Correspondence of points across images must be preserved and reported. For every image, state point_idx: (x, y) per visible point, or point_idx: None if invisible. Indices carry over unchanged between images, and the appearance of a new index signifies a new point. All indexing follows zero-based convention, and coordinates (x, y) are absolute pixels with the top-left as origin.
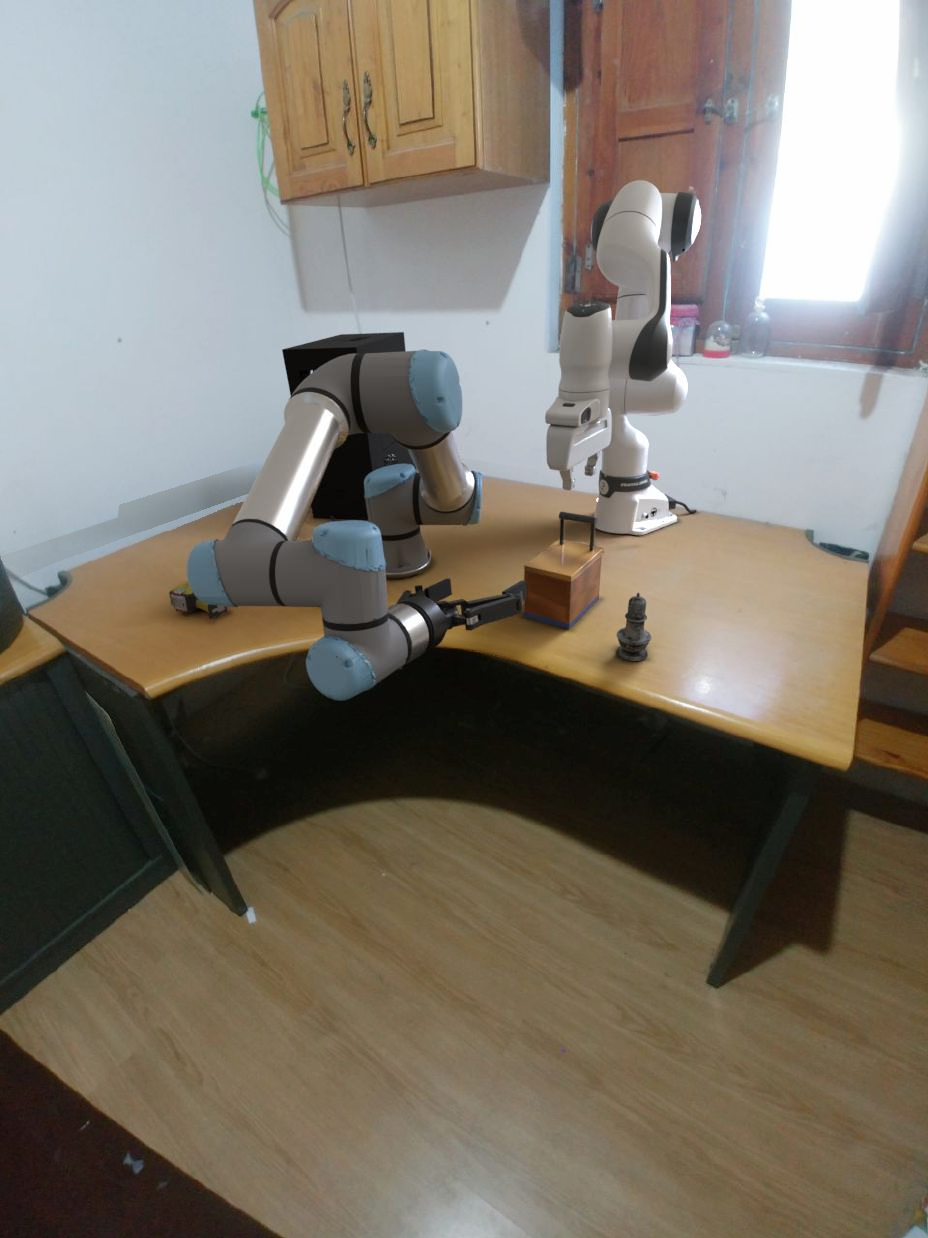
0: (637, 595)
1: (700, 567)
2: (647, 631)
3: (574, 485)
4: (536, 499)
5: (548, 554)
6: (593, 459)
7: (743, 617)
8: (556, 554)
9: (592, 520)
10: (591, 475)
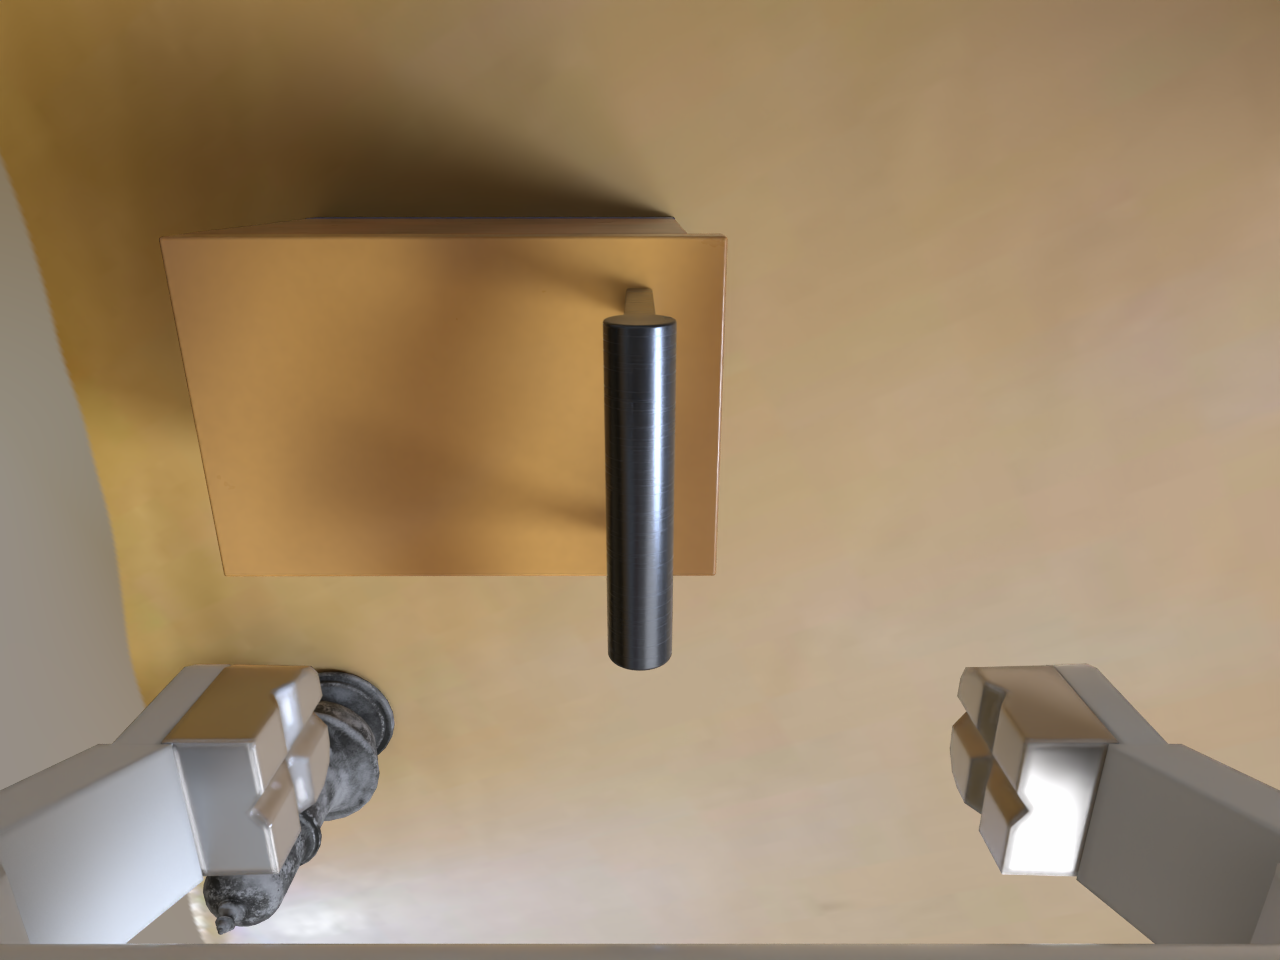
0: (216, 922)
1: (1177, 718)
2: (367, 797)
3: (313, 796)
4: None
5: (419, 303)
6: (1207, 910)
7: (786, 924)
8: (450, 354)
9: (611, 644)
10: (955, 755)
